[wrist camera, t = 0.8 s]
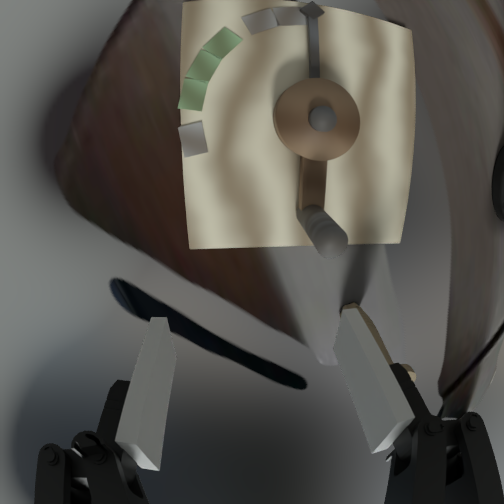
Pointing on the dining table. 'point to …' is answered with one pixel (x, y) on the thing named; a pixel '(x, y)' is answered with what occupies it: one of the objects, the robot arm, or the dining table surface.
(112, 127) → the dining table surface
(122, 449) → the robot arm
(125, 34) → the dining table surface
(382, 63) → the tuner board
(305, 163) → the brown handled round piece
